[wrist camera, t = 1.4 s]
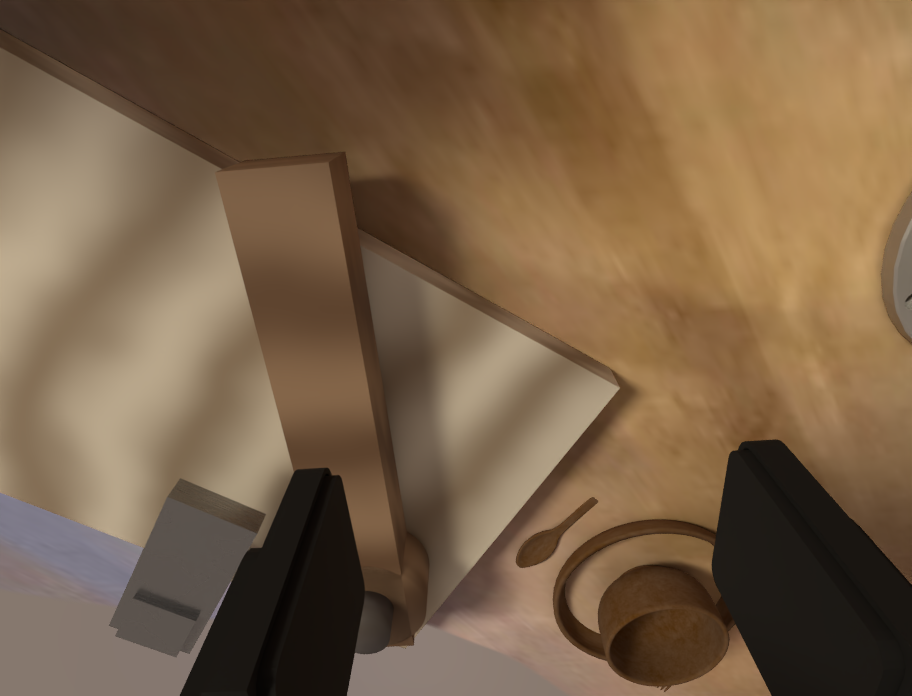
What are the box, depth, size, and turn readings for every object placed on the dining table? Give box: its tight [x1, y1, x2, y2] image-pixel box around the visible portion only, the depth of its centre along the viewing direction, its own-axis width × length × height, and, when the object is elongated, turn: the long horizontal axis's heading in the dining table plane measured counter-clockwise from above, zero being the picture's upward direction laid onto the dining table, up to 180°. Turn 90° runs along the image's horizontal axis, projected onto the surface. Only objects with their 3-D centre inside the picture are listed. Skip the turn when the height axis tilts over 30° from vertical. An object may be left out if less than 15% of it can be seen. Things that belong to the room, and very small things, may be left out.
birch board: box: [0, 29, 620, 649], centre depth 28 cm, size 32×22×2 cm
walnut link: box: [215, 152, 429, 654], centre depth 25 cm, size 25×6×5 cm, turn 5°
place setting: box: [516, 497, 735, 692], centre depth 35 cm, size 18×20×6 cm
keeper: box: [109, 478, 266, 657], centre depth 28 cm, size 4×9×8 cm, turn 150°
